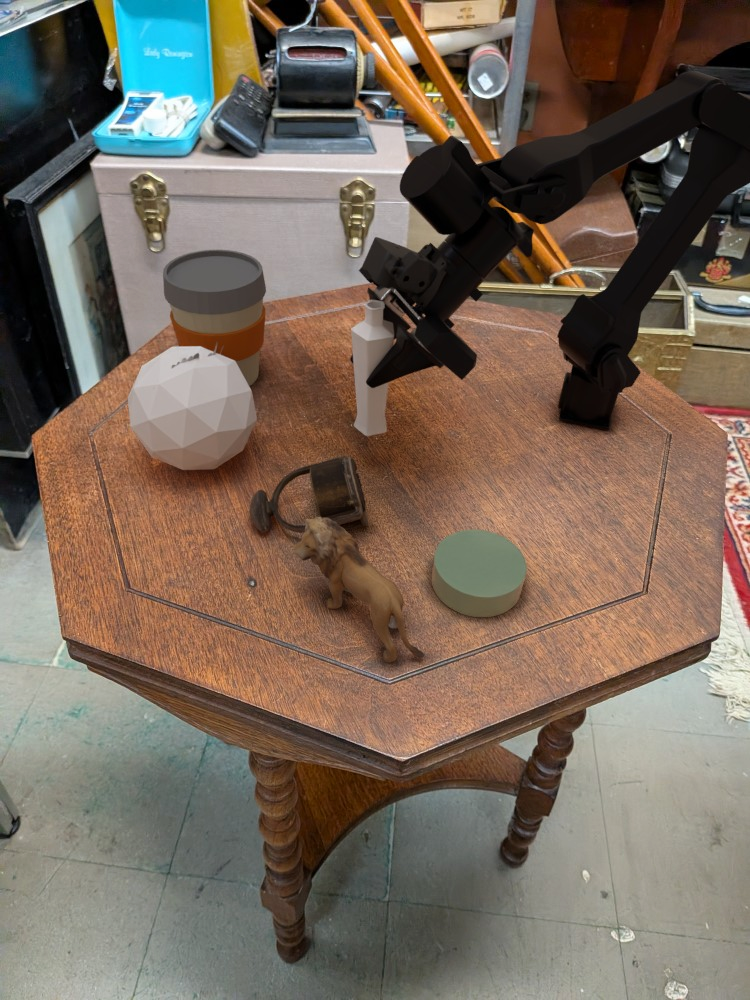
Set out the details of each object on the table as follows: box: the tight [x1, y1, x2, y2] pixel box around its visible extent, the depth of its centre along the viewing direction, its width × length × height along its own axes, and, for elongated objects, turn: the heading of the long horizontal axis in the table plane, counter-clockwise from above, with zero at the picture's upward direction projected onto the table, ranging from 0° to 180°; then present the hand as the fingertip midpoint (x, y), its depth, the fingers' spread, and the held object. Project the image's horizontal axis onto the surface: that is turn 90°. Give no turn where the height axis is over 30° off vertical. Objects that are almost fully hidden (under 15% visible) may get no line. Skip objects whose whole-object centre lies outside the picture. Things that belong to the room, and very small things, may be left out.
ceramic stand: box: [430, 529, 528, 618], centre depth 71 cm, size 9×9×3 cm
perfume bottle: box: [350, 299, 395, 437], centre depth 78 cm, size 5×4×15 cm
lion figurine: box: [292, 516, 426, 663], centre depth 66 cm, size 15×5×9 cm, turn 50°
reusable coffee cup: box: [162, 249, 267, 387], centre depth 94 cm, size 13×13×15 cm
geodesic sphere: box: [127, 342, 258, 471], centre depth 81 cm, size 15×14×14 cm
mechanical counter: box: [249, 455, 369, 534], centre depth 76 cm, size 7×13×10 cm
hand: (360, 373), depth 77 cm, fingers closed on perfume bottle, 4 cm apart
